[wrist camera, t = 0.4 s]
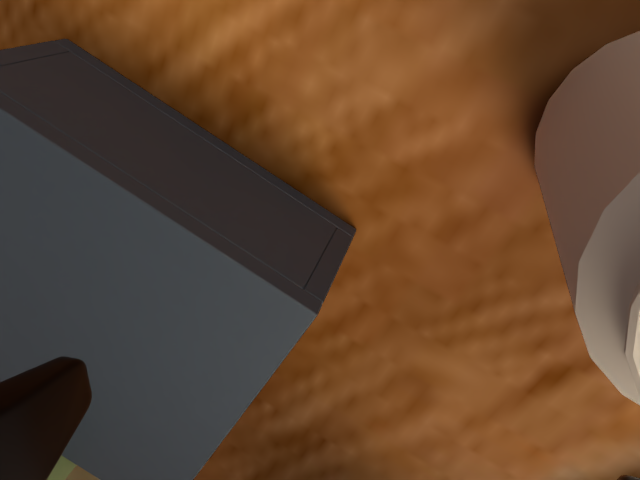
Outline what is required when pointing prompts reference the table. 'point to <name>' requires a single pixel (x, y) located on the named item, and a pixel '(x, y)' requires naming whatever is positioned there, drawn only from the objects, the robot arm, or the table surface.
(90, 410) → the cabinet
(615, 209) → the can
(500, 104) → the table surface
